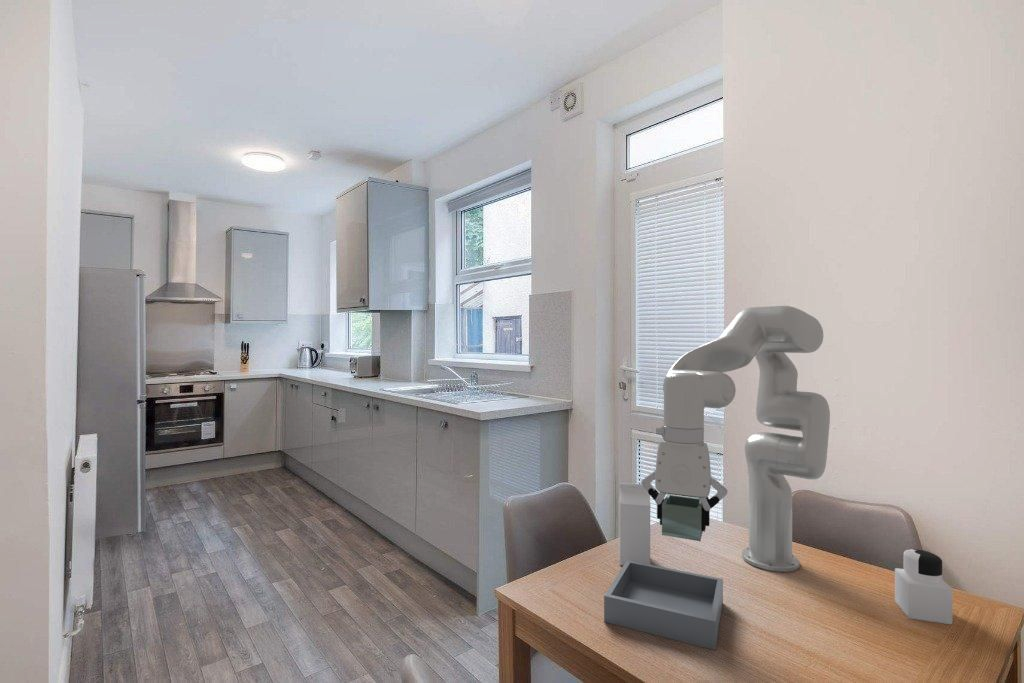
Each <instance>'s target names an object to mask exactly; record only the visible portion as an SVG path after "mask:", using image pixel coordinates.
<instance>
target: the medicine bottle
mask: <svg viewBox="0 0 1024 683" xmlns="http://www.w3.org/2000/svg"><path fill="white" fill-rule="evenodd" d="M902 559H903V564H902V565H903V568H898V567H895V568H894V601H895V603H896V605H897V606H898V607H899V608H900V609H901V610H902V612H903V613H904V615H906V616H907V618H908V619H909V620H918V621H925V622H930V623H937V624H944V625H950V626H951V625H953V588H952V587H951V586H950V584H948V583H947V582H946V581H945V580H943V559H942V558H941V557H940V556H938V555H937V554H935V553H933V552H930V551H927V550H925V549H924V550H923V549H918V548H917V549H915V548H913V549H912V548H911V549H906V550H904V551H903V558H902Z"/></svg>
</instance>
